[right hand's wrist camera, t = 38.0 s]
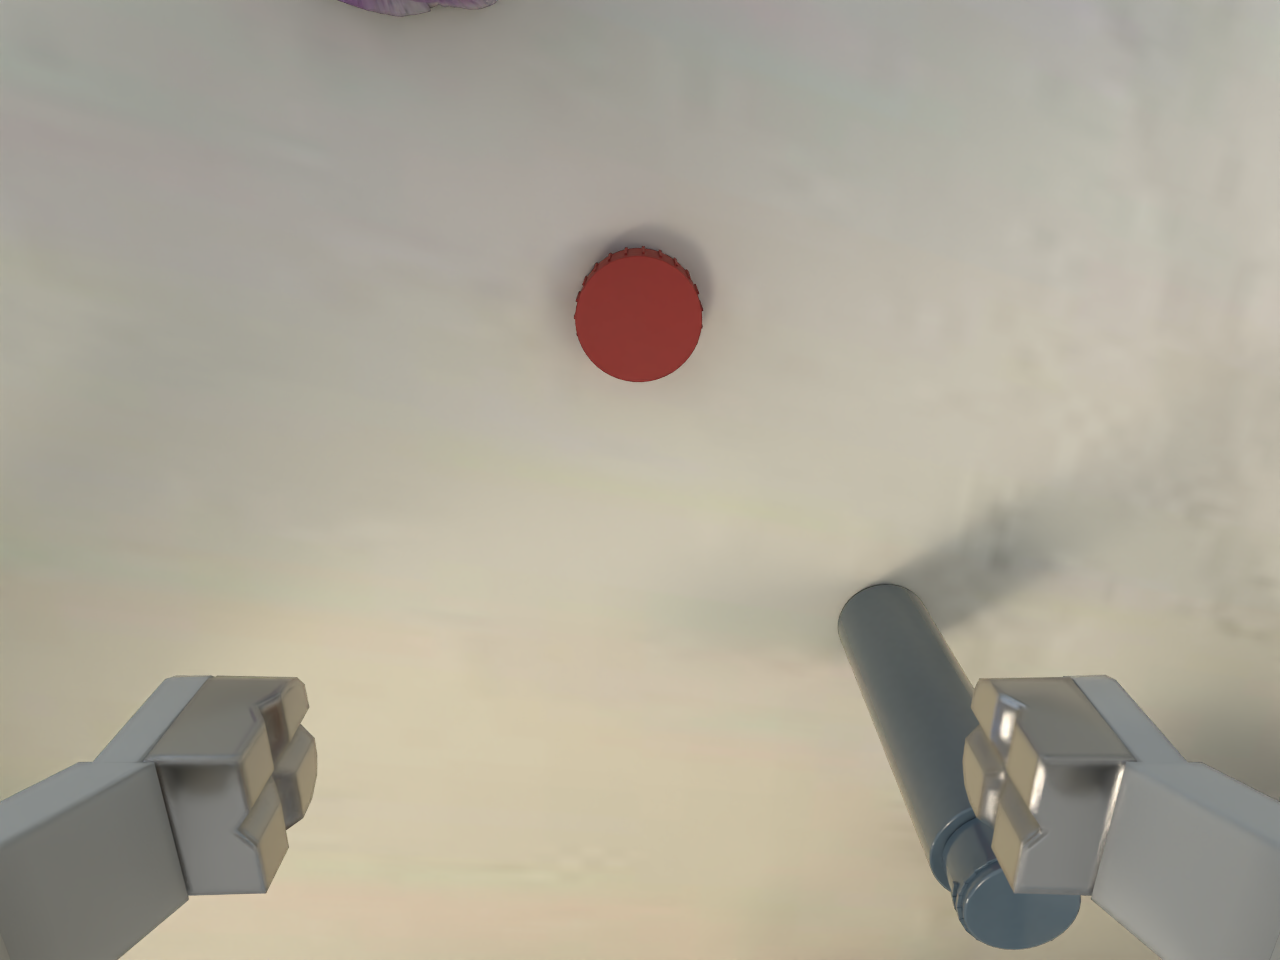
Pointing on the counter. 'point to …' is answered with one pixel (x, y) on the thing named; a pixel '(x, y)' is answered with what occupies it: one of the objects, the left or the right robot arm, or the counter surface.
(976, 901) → the bottle
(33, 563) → the counter surface
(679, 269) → the lid
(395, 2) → the figurine
